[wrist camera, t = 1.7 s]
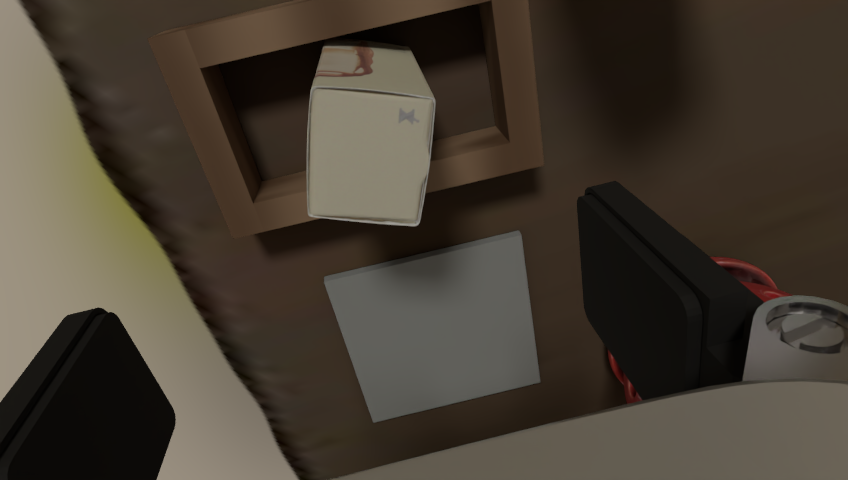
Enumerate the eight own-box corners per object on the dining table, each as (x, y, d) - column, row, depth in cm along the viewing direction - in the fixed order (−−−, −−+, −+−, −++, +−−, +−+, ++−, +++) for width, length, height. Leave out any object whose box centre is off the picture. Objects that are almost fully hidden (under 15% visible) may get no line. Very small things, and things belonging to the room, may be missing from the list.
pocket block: (505, -49, 25) (523, -49, 23) (527, 146, 30) (544, 165, 27) (168, 29, 25) (147, 38, 23) (243, 214, 30) (233, 239, 27)
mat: (518, 230, 33) (521, 234, 32) (537, 376, 38) (540, 382, 38) (324, 276, 32) (324, 282, 32) (373, 416, 38) (373, 422, 38)
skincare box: (322, 34, 26) (309, 75, 17) (412, 45, 27) (443, 90, 18) (317, 138, 28) (303, 221, 20) (400, 145, 29) (422, 229, 20)
